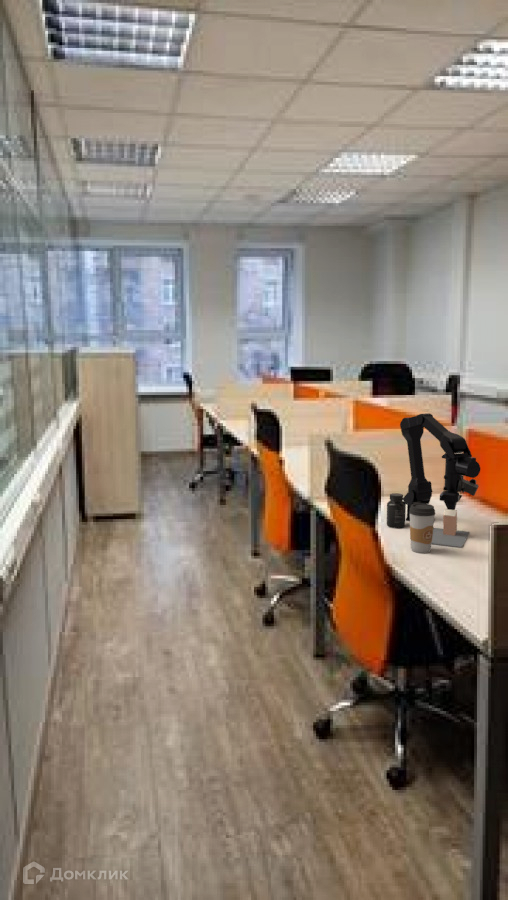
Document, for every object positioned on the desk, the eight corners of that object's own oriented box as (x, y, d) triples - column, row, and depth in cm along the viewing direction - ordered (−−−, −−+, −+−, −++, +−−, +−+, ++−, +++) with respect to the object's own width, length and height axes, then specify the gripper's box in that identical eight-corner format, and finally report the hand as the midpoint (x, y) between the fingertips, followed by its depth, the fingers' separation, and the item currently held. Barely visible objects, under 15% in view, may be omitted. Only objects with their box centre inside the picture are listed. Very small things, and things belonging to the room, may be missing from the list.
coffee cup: (419, 555, 217) (421, 510, 214) (402, 548, 224) (403, 504, 222) (439, 552, 221) (441, 507, 218) (421, 545, 228) (423, 501, 225)
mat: (422, 543, 230) (422, 542, 230) (432, 528, 247) (432, 527, 247) (461, 548, 225) (461, 546, 224) (469, 532, 242) (469, 531, 241)
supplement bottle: (406, 524, 252) (408, 493, 250) (402, 529, 246) (404, 497, 244) (388, 522, 255) (389, 491, 253) (384, 527, 249) (385, 495, 247)
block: (443, 534, 239) (443, 514, 235) (445, 528, 242) (445, 509, 239) (455, 535, 237) (455, 515, 234) (456, 529, 240) (456, 510, 237)
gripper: (474, 479, 225) (472, 524, 228) (480, 469, 242) (478, 511, 245) (440, 476, 230) (438, 521, 232) (448, 467, 247) (446, 508, 249)
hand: (451, 515), depth 240 cm, fingers closed
